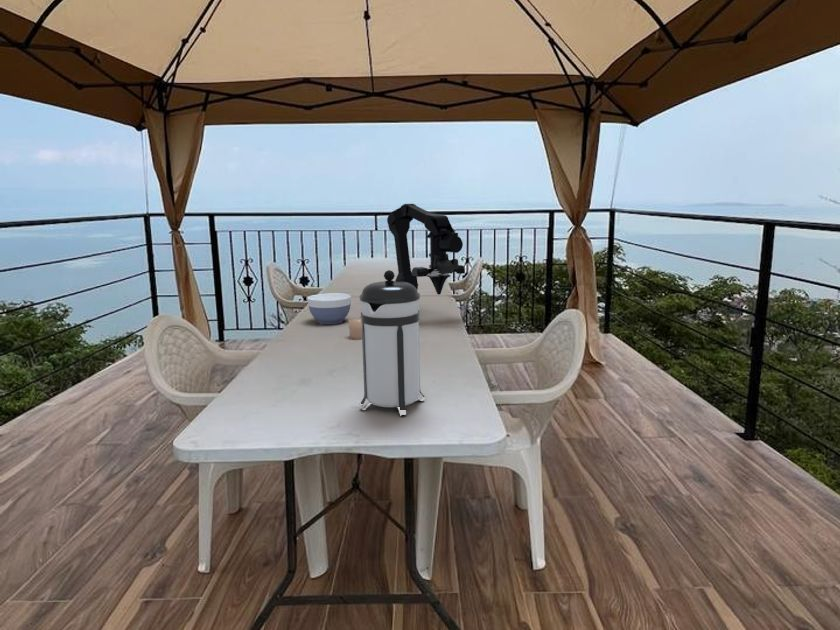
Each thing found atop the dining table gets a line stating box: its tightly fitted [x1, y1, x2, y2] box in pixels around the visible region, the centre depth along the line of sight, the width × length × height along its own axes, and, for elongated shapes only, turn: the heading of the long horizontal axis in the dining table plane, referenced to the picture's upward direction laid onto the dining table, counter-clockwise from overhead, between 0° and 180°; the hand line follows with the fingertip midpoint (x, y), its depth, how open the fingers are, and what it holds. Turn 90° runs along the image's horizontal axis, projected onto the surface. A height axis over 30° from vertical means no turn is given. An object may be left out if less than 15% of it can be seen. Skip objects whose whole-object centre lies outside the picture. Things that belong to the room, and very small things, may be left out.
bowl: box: [307, 292, 352, 325], centre depth 211 cm, size 16×16×10 cm
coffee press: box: [359, 269, 425, 410], centre depth 124 cm, size 17×16×30 cm
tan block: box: [348, 317, 362, 340], centre depth 187 cm, size 6×6×6 cm
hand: (438, 294), depth 205 cm, fingers closed
